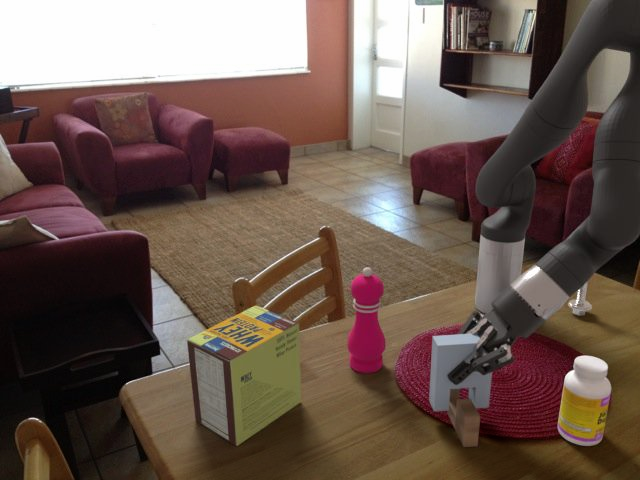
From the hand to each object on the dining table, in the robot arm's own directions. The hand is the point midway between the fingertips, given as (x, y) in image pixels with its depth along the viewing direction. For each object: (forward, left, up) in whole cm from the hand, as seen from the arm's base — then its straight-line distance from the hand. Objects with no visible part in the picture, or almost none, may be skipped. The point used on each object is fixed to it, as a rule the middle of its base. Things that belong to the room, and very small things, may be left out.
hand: (448, 374), depth 97 cm
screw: (-33, +40, -9) cm, 53 cm away
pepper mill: (-18, -10, -9) cm, 23 cm away
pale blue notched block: (0, +2, -6) cm, 6 cm away
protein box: (-6, -32, -9) cm, 34 cm away
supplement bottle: (+6, +20, -9) cm, 23 cm away
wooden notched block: (-2, +2, -9) cm, 9 cm away
